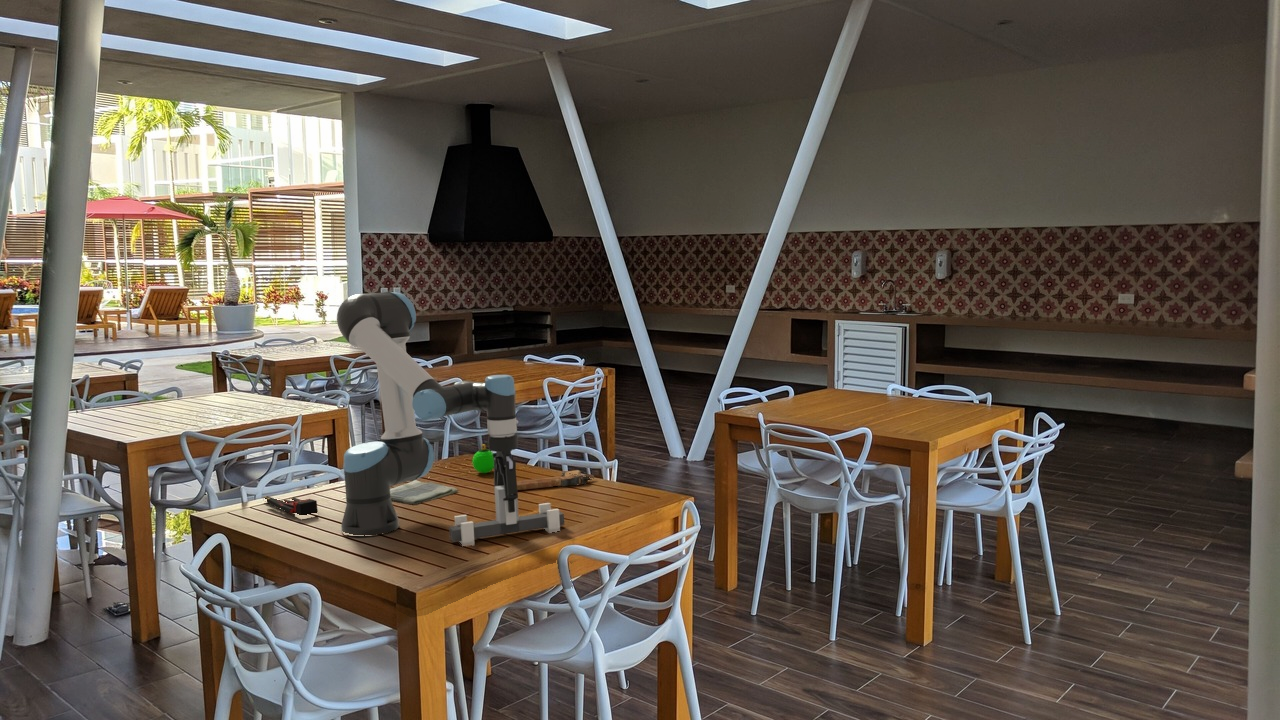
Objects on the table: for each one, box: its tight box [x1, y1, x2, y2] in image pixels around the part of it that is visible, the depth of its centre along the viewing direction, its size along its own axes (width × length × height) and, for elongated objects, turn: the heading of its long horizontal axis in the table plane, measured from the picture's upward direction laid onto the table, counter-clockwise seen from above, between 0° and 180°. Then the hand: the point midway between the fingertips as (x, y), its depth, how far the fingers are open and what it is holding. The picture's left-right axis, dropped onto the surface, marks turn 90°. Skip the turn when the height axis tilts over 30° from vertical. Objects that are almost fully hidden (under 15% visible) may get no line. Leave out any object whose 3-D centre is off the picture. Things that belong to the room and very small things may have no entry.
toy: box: [263, 495, 319, 515], centre depth 282 cm, size 8×5×30 cm
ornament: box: [472, 443, 494, 474], centre depth 321 cm, size 8×8×10 cm
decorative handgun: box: [517, 469, 595, 491], centre depth 303 cm, size 3×28×15 cm
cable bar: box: [448, 485, 565, 543], centre depth 245 cm, size 30×4×12 cm, turn 114°
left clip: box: [453, 514, 475, 547], centre depth 241 cm, size 3×8×6 cm, turn 23°
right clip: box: [538, 502, 561, 534], centre depth 250 cm, size 3×8×6 cm, turn 23°
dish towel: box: [390, 479, 459, 506], centre depth 294 cm, size 19×18×3 cm
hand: (507, 520), depth 245 cm, fingers open, 7 cm apart
